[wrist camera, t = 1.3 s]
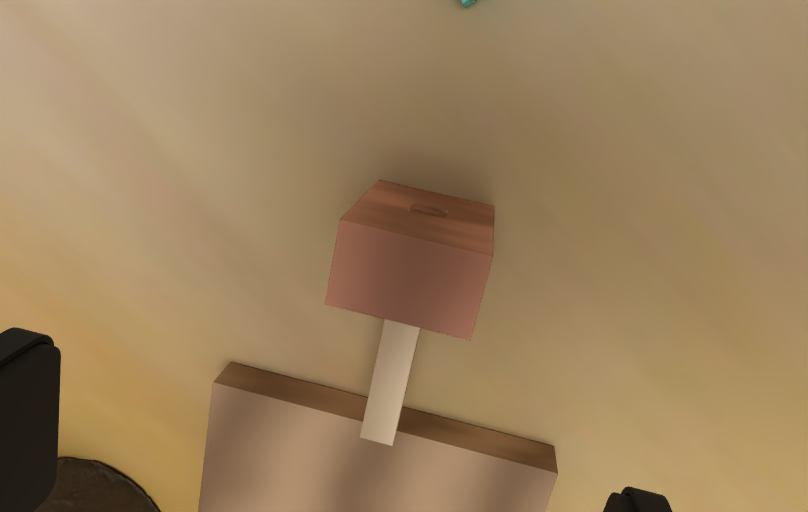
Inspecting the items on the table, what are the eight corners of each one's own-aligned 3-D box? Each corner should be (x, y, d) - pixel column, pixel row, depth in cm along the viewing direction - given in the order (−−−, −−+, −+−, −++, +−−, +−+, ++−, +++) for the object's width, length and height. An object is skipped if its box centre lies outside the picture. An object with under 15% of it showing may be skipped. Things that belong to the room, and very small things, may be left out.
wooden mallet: (494, 206, 26) (493, 256, 19) (442, 407, 29) (425, 508, 22) (379, 179, 26) (339, 219, 20) (341, 380, 29) (295, 472, 23)
